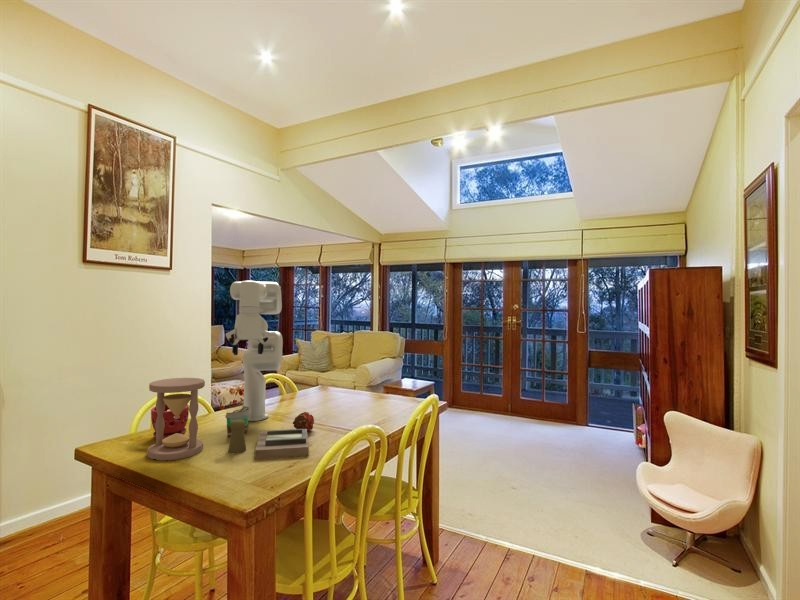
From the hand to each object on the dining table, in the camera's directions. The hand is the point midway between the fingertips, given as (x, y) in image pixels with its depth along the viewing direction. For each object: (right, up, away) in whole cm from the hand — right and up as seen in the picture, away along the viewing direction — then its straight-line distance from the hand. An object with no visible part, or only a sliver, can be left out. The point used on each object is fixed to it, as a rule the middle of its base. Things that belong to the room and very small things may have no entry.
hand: (248, 354), depth 165 cm
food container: (-4, -33, +4) cm, 34 cm away
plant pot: (-31, -33, 0) cm, 45 cm away
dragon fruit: (+20, -34, +11) cm, 41 cm away
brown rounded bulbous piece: (+1, -33, -15) cm, 36 cm away
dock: (+17, -33, -10) cm, 39 cm away
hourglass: (-20, -33, -17) cm, 42 cm away
